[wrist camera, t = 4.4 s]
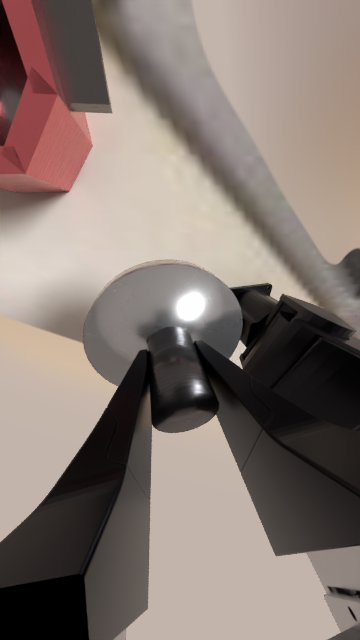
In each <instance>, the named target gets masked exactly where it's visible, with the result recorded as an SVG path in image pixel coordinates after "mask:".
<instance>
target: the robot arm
mask: <svg viewBox="0 0 360 640" xmlns="http://www.w3.org/2000/svg"><path fill="white" fill-rule="evenodd" d="M268 286H269V287H268ZM267 287H268V288H267ZM229 289H230V290H231V291H232V292H233V293H234V295H235V297H236V299H237V300H238V302H239V305H240V308H241V312H242V323H243V326H242V333H241V336H240V340H241V342H242V343H243V344H244V345H245V346H246V347H247V348H246V350H245V351H244V353H243V354H241V355H240V357H239V358H240V361H241V364H242V367H243V369H241V368H240V367H239V366H237V365H236V364H234V363H233V362H232V361H230V360H229V359H228V358H226V357H225V356H223V355H222V354H221V353H219V352H218V351H216V350H215V349H214V348H212V347H211V346H209V345H208V344H207V343H205V342H204V341H202V340H195V341H194V345H195V347H196V350H197V352H198V354H199V357H200V359H201V361H202V364H203V366H204V368H205V371H206V373H207V375H208V378H209V380H210V382H211V385H212V387H213V389H214V392H215V394H216V396H217V399H218V401H219V410H218V412H217V413H216V415H217V418H218V420H219V422H220V425H221V427H222V429H223V432H224V434H225V437H226V439H227V441H228V444H229V446H230V448H231V451H232V453H233V456H234V458H235V461H236V463H237V465H238V468H239V470H240V472H241V475H242V477H243V480H244V482H245V484H246V487H247V489H248V491H249V494H250V496H251V499H252V501H253V503H254V506H255V508H256V511H257V513H258V515H259V518H260V520H261V523H262V525H263V527H264V530H265V532H266V534H267V537H268V539H269V542H270V544H271V546H272V548H273V551H274V553H275V555H276V556H282V555H290V554H297V553H307V555H308V557H309V559H310V561H311V563H312V565H313V567H314V569H315V571H316V573H317V575H318V577H319V579H320V581H321V583H322V585H323V587H324V589H325V591H326V593H327V594H325V595H324V597H325V600H326V602H327V604H328V606H329V608H330V611H331V613H332V615H333V617H334V619H335V621H336V623H337V625H338V627H339V629H340V631H341V633H339V634H338V635H336V636H334V637H332V638H330V639H328V640H360V340H359V339H357V338H355V337H353V336H352V335H353V334H354V333H355V332H356V330H355V329H354V328H353V327H351V326H350V325H348V324H347V323H346V322H344V321H343V320H342V319H340V318H339V317H337V316H336V315H335V314H333V313H330V312H328V311H326V310H324V309H322V308H320V307H318V306H315V305H313V304H311V303H308V302H305V301H302V300H299V299H296V298H293V297H291V296H288V295H285V294H282V296H281V297H280V300H279V301H277V300H275V299H274V298H272V297H270V293H271V289H272V285H271V284H269V283H266V284H258V285H250V286H242V287H234V288H229ZM107 407H108V408H106V409H105V411H104V413H103V414H102V416H101V418H100V419H99V421H98V423H97V424H96V426H95V428H94V429H93V431H92V432H91V434H90V435H89V437H88V438H87V440H86V441H85V443H84V444H83V446H82V447H81V449H80V450H79V451H78V453H77V454H76V456H75V457H74V459H73V460H72V461H71V463H70V464H69V466H68V467H67V469H66V470H65V472H64V473H63V474H62V476H61V477H60V478H59V480H58V481H57V483H56V484H55V486H54V487H53V488H52V490H51V491H50V492H49V494H48V495H47V496H46V497H45V499H44V500H43V501H42V502H41V503H40V505H39V506H38V507H37V508H36V509H35V510H34V511H33V512H32V513H31V514H30V515H29V516H28V517H27V518H26V519H25V520H24V521H23V522H22V523H21V524H20V525H19V526H18V527H17V528H16V529H14V530H13V531H12V532H11V533H10V534H9V535H8V536H7V537H6V538H5V539H4V540H3V541H1V542H0V640H126V628H127V627H128V626H129V625H130V624H131V623H132V622H134V621H135V620H136V619H137V618H138V617H139V616H140V615H141V614H142V613H143V612H145V611H146V610H147V609H148V576H149V575H148V574H149V533H150V487H151V442H152V422H151V404H150V385H149V363H148V350H147V349H143V350H140V351H139V352H138V354H137V355H136V357H135V359H134V361H133V362H132V364H131V366H130V368H129V369H128V371H127V373H126V374H125V376H124V378H123V380H122V381H121V383H120V385H119V387H118V388H117V390H116V392H115V394H114V395H113V397H112V399H111V401H110V402H109V404H108V406H107Z"/></svg>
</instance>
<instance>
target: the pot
mask: <svg viewBox="0 0 360 640" xmlns="http://www.w3.org/2000/svg"><path fill="white" fill-rule="evenodd" d="M84 112H93V113H112V109H111V103H110V97H109V92H108V86H107V81H106V75H105V69H104V64H103V58H102V53H101V47H100V41H99V36H98V30H97V25H96V19H95V13H94V8H93V3H92V0H0V189H5V190H9V191H14V192H18V193H23V192H60V191H70V189H71V188H72V186H73V184H74V182H75V180H76V178H77V176H78V174H79V172H80V170H81V168H82V166H83V164H84V162H85V160H86V158H87V156H88V154H89V152H90V150H91V148H92V142H91V138H90V134H89V129H88V125H87V121H86V117H85V113H84Z"/></svg>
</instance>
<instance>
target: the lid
mask: <svg viewBox="0 0 360 640" xmlns="http://www.w3.org/2000/svg"><path fill="white" fill-rule="evenodd" d="M242 326H243V323H242V312H241V308H240V305H239V302H238V300H237V299H236V297H235V295H234V293H233V292H232V291H231V290H230V289H229V287H228V286H227V285H225V284H224V283H223V282H222V281H221V280H220V279H218V278H217V277H216V276H214V275H213V274H212V273H210V272H209V271H207V270H205V269H204V268H202V267H200V266H197V265H195V264H192V263H188V262H184V261H178V260H156V261H150V262H146V263H142V264H139V265H136V266H134V267H132V268H129V269H127V270H125V271H124V272H122V273H121V274H119V275H117V276H116V277H115V278H114V279H112V280H111V281H110V282H109V283H108V284H107V285H106V286H105V287H104V288H103V290H102V291H101V292H100V293H99V295H98V297H97V299H96V300H95V302H94V304H93V306H92V307H91V309H90V311H89V313H88V315H87V318H86V321H85V324H84V330H83V344H84V349H85V353H86V355H87V358H88V360H89V361H90V363H91V364H92V366H93V367H94V369H95V370H96V371H97V372H98V373H99V374H100V375H101V376H102V377H103V378H105V379H106V380H108V381H109V382H111V383H113V384H115V385H116V386H118V387H119V385H120V383H121V381H122V380H123V378H124V376H125V374H126V373H127V371H128V369H129V368H130V366H131V364H132V362H133V361H134V359H135V357H136V355H137V354H138V352H139V351H140V350H143V349H147V350H148V363H149V385H150V404H151V422H152V425H153V426H154V427H155V428H156V429H157V430H159V431H162V432H167V433H178V432H185V431H188V430H192V429H195V428H197V427H199V426H201V425H203V424H205V423H207V422H208V421H209V420H211V419H212V418H213V417H214V416H215V415H216V413H217V412H218V410H219V401H218V399H217V396H216V394H215V392H214V389H213V387H212V385H211V382H210V380H209V378H208V375H207V373H206V371H205V368H204V366H203V364H202V361H201V359H200V357H199V354H198V352H197V350H196V347H195V345H194V341H195V340H202V341H204V342H205V343H207V344H208V345H209V346H211V347H212V348H214V349H215V350H216V351H218V352H219V353H221V354H222V355H223V356H225V357H226V358H228V359H229V358H230V357H231V355H232V354H233V352H234V351H235V349H236V347H237V345H238V342H239V340H240V336H241V333H242Z"/></svg>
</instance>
